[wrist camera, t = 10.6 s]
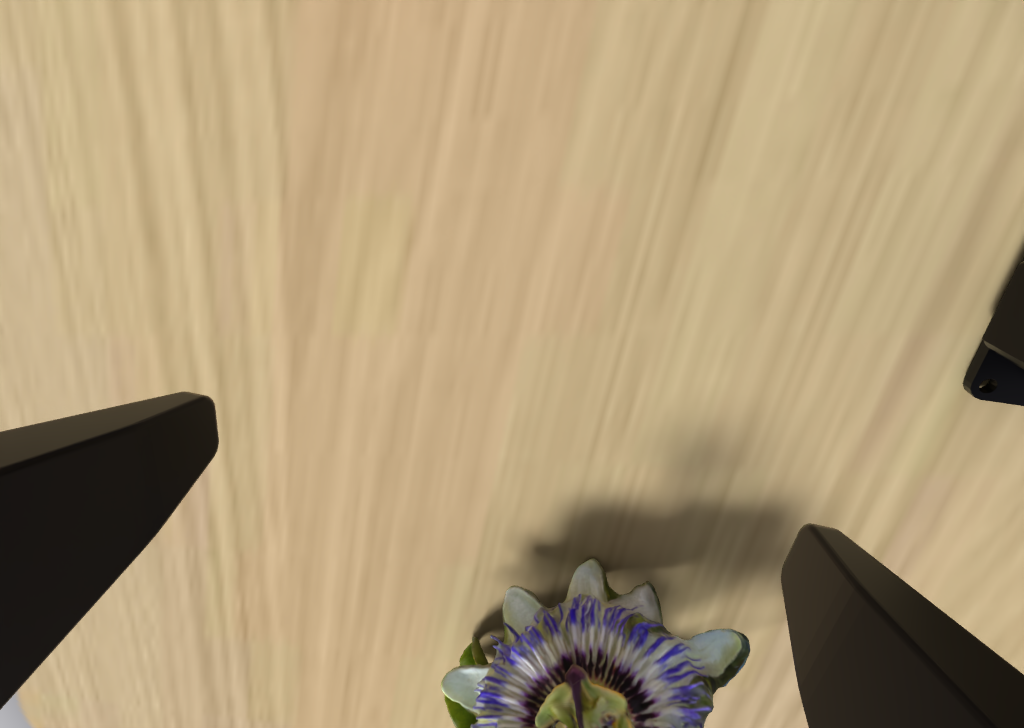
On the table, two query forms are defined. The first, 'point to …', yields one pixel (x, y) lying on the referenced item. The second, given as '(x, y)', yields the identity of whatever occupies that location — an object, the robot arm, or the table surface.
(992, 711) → the robot arm
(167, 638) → the table surface
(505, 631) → the passion flower
